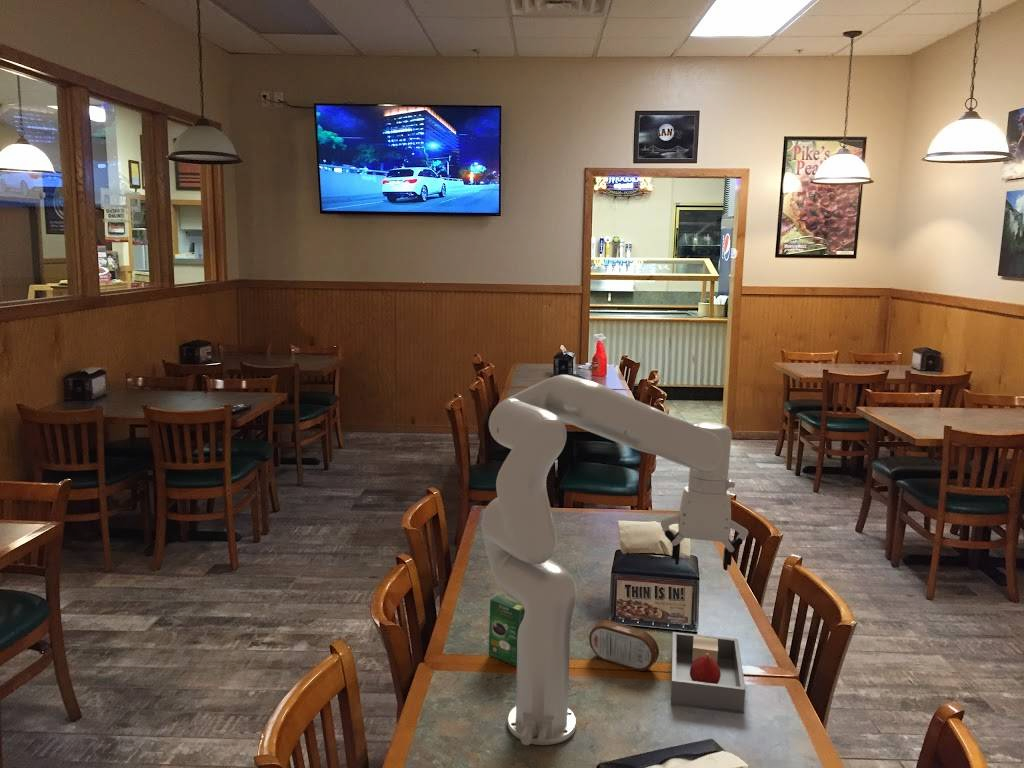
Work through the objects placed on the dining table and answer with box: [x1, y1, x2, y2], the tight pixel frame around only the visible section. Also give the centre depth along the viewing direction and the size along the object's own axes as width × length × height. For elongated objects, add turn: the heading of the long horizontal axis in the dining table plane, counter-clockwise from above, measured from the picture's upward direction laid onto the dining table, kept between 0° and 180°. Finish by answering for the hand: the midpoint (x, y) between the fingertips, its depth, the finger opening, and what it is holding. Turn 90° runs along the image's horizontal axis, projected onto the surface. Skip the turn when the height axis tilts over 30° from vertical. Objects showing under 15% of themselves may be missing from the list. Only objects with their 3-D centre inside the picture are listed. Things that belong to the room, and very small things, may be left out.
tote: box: [670, 631, 746, 715], centre depth 161 cm, size 20×14×5 cm
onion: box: [690, 653, 721, 684], centre depth 157 cm, size 6×6×8 cm
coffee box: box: [488, 595, 525, 668], centre depth 168 cm, size 8×3×13 cm, turn 54°
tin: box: [588, 619, 660, 672], centre depth 167 cm, size 15×3×8 cm, turn 59°
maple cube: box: [692, 636, 718, 663], centre depth 166 cm, size 5×5×5 cm
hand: (700, 565), depth 162 cm, fingers open, 9 cm apart
